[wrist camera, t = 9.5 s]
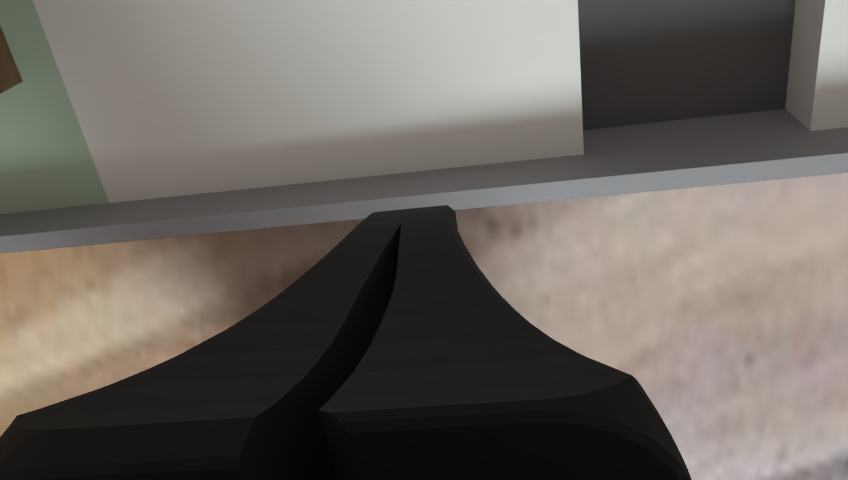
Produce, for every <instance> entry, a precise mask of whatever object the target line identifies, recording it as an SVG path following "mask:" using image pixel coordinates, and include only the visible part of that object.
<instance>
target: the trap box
mask: <svg viewBox="0 0 848 480" xmlns="http://www.w3.org/2000/svg"><path fill="white" fill-rule="evenodd" d="M0 26H1V28H2V31H3V33H4V36H5V38H6V41H7V43H8V46H9V48H10V51H11V53H12V56H13V58H14V61H15V63H16V66H17V68H18V71H19V73H20V76H21V78H22V81H23V82H21V83H19V84H17V85H16V86H14V87H12V88H10V89H8V90H6V91H4V92H3V93H1V94H0V254H1V253H11V252H22V251H32V250H43V249H53V248H64V247H74V246H85V245H95V244H106V243H116V242H127V241H137V240H148V239H158V238H169V237H179V236H190V235H200V234H210V233H221V232H231V231H242V230H252V229H263V228H273V227H284V226H294V225H305V224H315V223H326V222H336V221H347V220H357V219H365V218H366V217H368V216H369V215H370V214H372V213H373V212H380V211H390V210H401V209H411V208H421V207H432V206H442V205H448V206H449V207H451V208H452V209H453V210H462V209H472V208H483V207H493V206H504V205H514V204H525V203H535V202H546V201H556V200H567V199H577V198H588V197H598V196H609V195H619V194H630V193H640V192H651V191H661V190H672V189H682V188H693V187H703V186H714V185H724V184H734V183H745V182H755V181H766V180H776V179H787V178H797V177H808V176H818V175H829V174H839V173H848V0H0Z"/></svg>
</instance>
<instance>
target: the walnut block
mask: <svg viewBox="0 0 848 480" xmlns="http://www.w3.org/2000/svg"><path fill="white" fill-rule="evenodd" d="M21 82H23V81H22V78H21V76H20V73H19V71H18V68H17V66H16V63H15V61H14V58H13V56H12V53H11V51H10V48H9V46H8V43H7V41H6V38H5V36H4V33H3V31H2V28H1V26H0V94H1V93H3V92H4V91H6V90H8V89H10V88H12V87H14V86H16V85H17V84H19V83H21Z"/></svg>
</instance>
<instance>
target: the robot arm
mask: <svg viewBox="0 0 848 480" xmlns="http://www.w3.org/2000/svg"><path fill="white" fill-rule="evenodd" d="M0 480H691V477H690V474H689V472H688V469H687V467H686V465H685V462H684V460H683V458H682V456H681V454H680V452H679V450H678V448H677V446H676V444H675V442H674V440H673V438H672V436H671V434H670V432H669V430H668V429H667V427H666V425H665V423H664V422H663V420H662V418H661V417H660V415H659V413H658V411H657V410H656V408H655V407H654V405H653V404H652V402H651V400H650V399H649V397H648V396H647V394H646V393H645V391H644V390H643V388H642V387H641V385H640V384H639V382H638V381H637V380H636V379H635V378H634V377H633V376H632V375H629V374H627V373H625V372H622V371H620V370H617V369H615V368H612V367H610V366H607V365H605V364H602V363H600V362H597V361H595V360H592V359H590V358H587V357H585V356H583V355H581V354H579V353H577V352H575V351H573V350H571V349H570V348H568V347H566V346H564V345H562V344H560V343H559V342H557V341H555V340H553V339H552V338H550V337H549V336H548V335H546V334H545V333H543V332H542V331H540V330H539V329H538V328H536V327H535V326H533V325H532V324H531V323H529V322H528V321H527V320H526V319H525V318H524V317H522V316H521V315H520V314H519V313H518V312H517V311H516V310H515V309H514V308H513V307H512V306H511V305H510V304H509V303H508V302H507V301H506V300H505V299H504V298H503V297H502V296H501V295H500V294H499V293H498V292H497V291H496V290H495V288H494V287H493V286H492V285H491V284H490V282H489V281H488V280H487V278H486V277H485V276H484V274H483V273H482V272H481V270H480V269H479V268H478V266H477V265H476V263H475V262H474V260H473V258H472V257H471V255H470V253H469V252H468V250H467V248H466V247H465V245H464V243H463V241H462V239H461V237H460V234H459V232H458V229H457V222H456V215H455V211H454V210H453V209H452V208H451V207H449V206H448V205H442V206H432V207H421V208H411V209H401V210H390V211H380V212H373V213H372V214H370V215H369V216H368V217H366V218H365V219H364V220H363V221H362V222H361V223H360V224H359V225H358V226H357V227H356V228H355V229H354V230H352V231H351V232H350V233H349V234H348V235H347V236H346V237H345V238H344V239H343V240H342V241H341V242H340V243H339V244H338V245H337V246H335V247H334V248H333V249H332V250H331V251H330V252H329V253H328V254H327V255H326V256H325V257H324V258H323V259H321V260H320V261H319V262H318V263H317V264H316V265H315V266H313V267H312V268H311V269H310V270H309V271H307V272H306V273H305V274H304V275H302V276H301V277H300V278H299V279H298V280H296V281H295V282H294V283H293V284H292V285H290V286H289V287H288V288H287V289H285V290H284V291H283V292H282V293H280V294H279V295H278V296H276V297H275V298H274V299H272V300H271V301H270V302H268V303H267V304H265V305H264V306H262V307H261V308H260V309H258V310H257V311H255V312H253V313H252V314H250V315H249V316H247V317H246V318H244V319H243V320H241V321H240V322H238V323H237V324H235V325H233V326H232V327H230V328H228V329H227V330H225V331H223V332H221V333H219V334H217V335H215V336H214V337H212V338H210V339H208V340H206V341H204V342H202V343H200V344H199V345H197V346H195V347H193V348H191V349H189V350H187V351H186V352H184V353H182V354H180V355H178V356H176V357H174V358H172V359H170V360H167V361H165V362H163V363H161V364H158V365H156V366H154V367H152V368H150V369H147V370H145V371H143V372H140V373H138V374H135V375H133V376H131V377H128V378H126V379H123V380H121V381H118V382H116V383H113V384H111V385H108V386H105V387H103V388H100V389H97V390H95V391H92V392H89V393H86V394H83V395H80V396H77V397H74V398H71V399H68V400H65V401H62V402H59V403H56V404H53V405H50V406H47V407H44V408H41V409H38V410H35V411H31V412H28V413H25V414H21V415H18V416H17V417H16V418H15V419H14V421H13V422H12V423H11V424H10V426H9V427H8V428H7V430H6V431H5V432H4V433H3V435H2V436H1V437H0Z"/></svg>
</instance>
